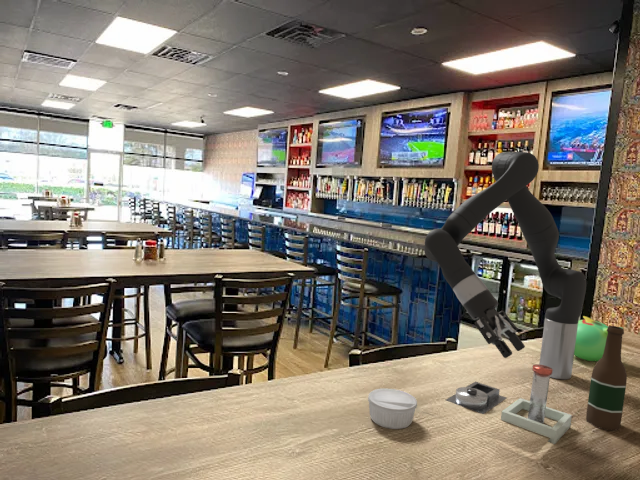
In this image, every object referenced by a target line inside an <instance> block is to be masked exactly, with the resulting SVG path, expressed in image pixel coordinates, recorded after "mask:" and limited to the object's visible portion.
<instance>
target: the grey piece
mask: <svg viewBox="0 0 640 480" xmlns="http://www.w3.org/2000/svg"><path fill="white" fill-rule="evenodd" d="M500 391H501V390H500V388H496V387H494V386H491V385H488V384H484V383H481V382H478V381H474V382H472V383H471V384H469V385H467V386H465V387H464V386H462V387H458V388H456V390H455V394H453V395H451V396H450V397H448V398H446V399H445V401H446V402H449V403H452V404H454V405H458V406H460V407H462V408H465V409H468V410H469V411H470V410H471V411H473V412H476V413H478V414H481V415H484V414H486V413H487V412H489V411H490V410H492V409H493V408H495V407H496V406H498V405H499V404H500V403H502V402H504V400H506V399H507V397H506V396H504V395H500Z"/></svg>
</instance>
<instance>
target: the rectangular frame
mask: <svg viewBox="0 0 640 480" xmlns="http://www.w3.org/2000/svg"><path fill="white" fill-rule="evenodd" d="M529 404H530V400H528V399H524V398H521V397H520V398H518V399H516V401H514V402H512V403H511V404H510V405H509V406H507V407H505V408H504V409H503V410H502V411H501V413H500V414H501V415H500V420H501V421H503V422H505V423H508V424H512V425H514V426H517V427H519V428H521V429H525V430H527V431H530V432H532V433H536V434H538V435H541V436H544V437H547V438H549V439H548V440H547V442H548V443H550V444H553V445H555V444H557V442H558V441H560V439H561V438H562V437H563V436H564V435H565V433H566V432H568V431H569V429H570V428H571V423H572V418H573V417H572V414H570V413H567V412H564V411H560V410H558V409H555V408H551V407H548V406H546V410H545V417H544V418H547V419H551V420H554V421H557V422H556V423H555V424H554V425H553V426H550V425H547V424H545V423H544V424H542V423H539V422H536V421H533V420H531V419H528V417H525V416H521V415H520V414H517V413H519V412H520V411H521V410H524V411H527V412H529Z"/></svg>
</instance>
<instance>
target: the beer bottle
mask: <svg viewBox="0 0 640 480" xmlns="http://www.w3.org/2000/svg"><path fill="white" fill-rule="evenodd" d="M607 326H608V325H607ZM620 327H621V326H616V325H615V326H614V325H609V326H608V328H607V332H608V334H607V339H606V344H605V349H604V353H603V356H602V358H601V359H600V360H599V361H596V363H595V365H594V366H593V368H592V373H591V378H590V382H589V383H590V384H589V390H588V391H589V392H588V398H587V400H588V401H587V407H586V414H585V415H586V416H585V421H586V422H587V423H589V424H590V425H592V426H593V427H595V428H598V429H599V428H600V429H602V430H605V431H619V430H620V428H621V424H622V419H623V418H622V417H623V410H624V403H625V396H626V395H625V394H626V388H627V382H628V380H627V379H628V376H627V375H628V374H627V370H626V367H625V365H624V364H623V362H622V347H623V346H622V345H623V344H622V343H623V335H624V334H625V330H624V329H623V328H624V327H623V328H620Z"/></svg>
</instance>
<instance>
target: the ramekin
mask: <svg viewBox="0 0 640 480" xmlns="http://www.w3.org/2000/svg"><path fill="white" fill-rule="evenodd" d="M367 401H368V406H369V407H368V408H369V409H368V410H369V416H370V418H371V420H372V421H373V422H374V424H376V425H378V426H380V427H382V428H386V429H391V430H399V429H400V430H402V429H405V428H407V427H409V426H410V425H411V424H412V422H413V419H414V416H415V412H416V409H417V407H418V400H417V399H416V397H415V396H413V395H412V394H410V393H408V392H406V391H404V390H400V389H395V388H387V387H385V388H375V389H373V390H372V391H370V392H369V393H368V396H367Z"/></svg>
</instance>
